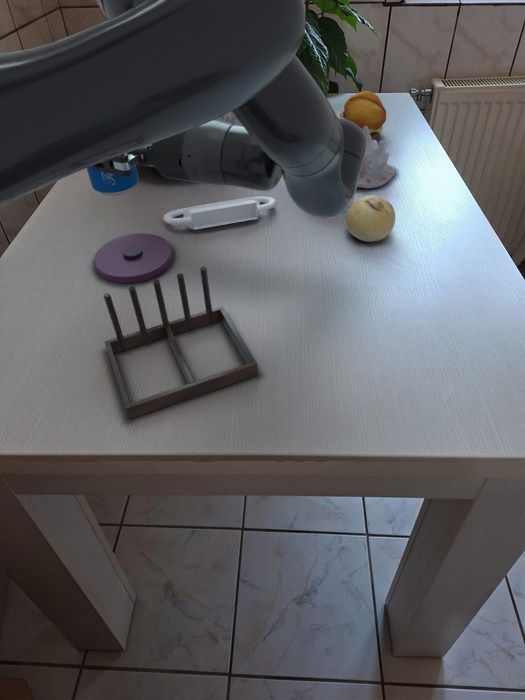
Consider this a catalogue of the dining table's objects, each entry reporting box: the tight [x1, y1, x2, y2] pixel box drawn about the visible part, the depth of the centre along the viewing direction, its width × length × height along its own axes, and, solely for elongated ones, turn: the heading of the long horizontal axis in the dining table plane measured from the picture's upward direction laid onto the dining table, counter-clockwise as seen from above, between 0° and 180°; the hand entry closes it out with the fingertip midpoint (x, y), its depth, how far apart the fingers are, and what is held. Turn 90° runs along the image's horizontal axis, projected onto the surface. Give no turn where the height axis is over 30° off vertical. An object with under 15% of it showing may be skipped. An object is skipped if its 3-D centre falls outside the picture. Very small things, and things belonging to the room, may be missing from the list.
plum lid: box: [93, 233, 173, 284], centre depth 78 cm, size 12×12×2 cm
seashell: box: [357, 126, 396, 189], centre depth 94 cm, size 10×12×9 cm
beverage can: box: [86, 165, 140, 197], centre depth 66 cm, size 6×6×12 cm
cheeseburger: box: [337, 90, 387, 140], centre depth 108 cm, size 10×11×10 cm
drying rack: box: [103, 266, 259, 420], centre depth 59 cm, size 16×12×9 cm
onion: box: [344, 194, 396, 243], centre depth 80 cm, size 8×8×7 cm
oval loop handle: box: [163, 195, 277, 230], centre depth 87 cm, size 20×8×4 cm, turn 106°
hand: (89, 135), depth 66 cm, fingers closed on beverage can, 6 cm apart
